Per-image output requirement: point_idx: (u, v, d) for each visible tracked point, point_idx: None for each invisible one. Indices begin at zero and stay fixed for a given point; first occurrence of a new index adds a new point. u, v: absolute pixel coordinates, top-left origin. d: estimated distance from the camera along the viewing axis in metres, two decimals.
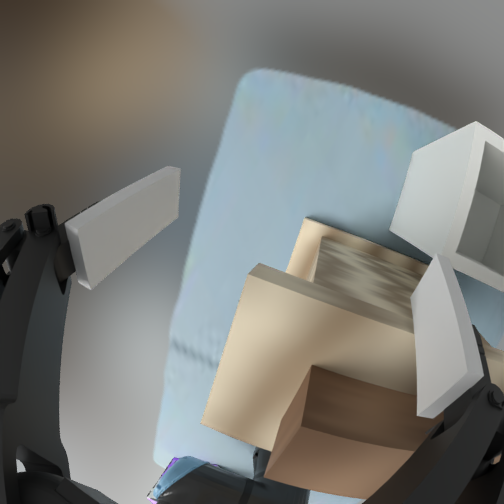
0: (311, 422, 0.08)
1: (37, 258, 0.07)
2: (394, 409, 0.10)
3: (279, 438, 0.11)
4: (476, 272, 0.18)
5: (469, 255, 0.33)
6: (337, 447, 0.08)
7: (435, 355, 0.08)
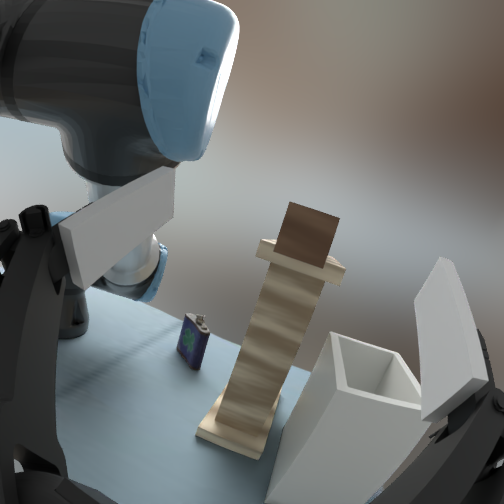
0: None
1: (31, 258, 0.07)
2: None
3: None
4: (334, 341, 0.37)
5: None
6: None
7: (439, 360, 0.08)
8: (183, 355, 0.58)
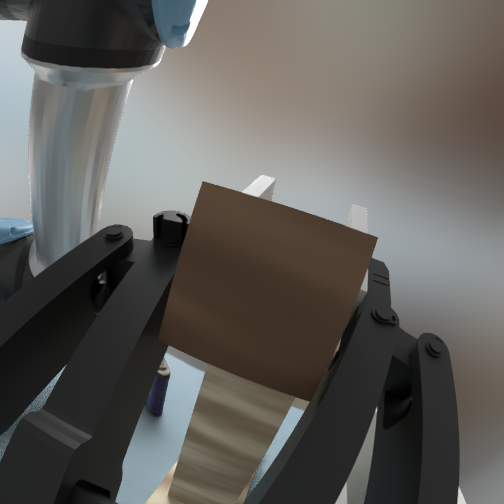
0: None
1: (158, 273, 0.07)
2: None
3: None
4: None
5: None
6: None
7: None
8: None
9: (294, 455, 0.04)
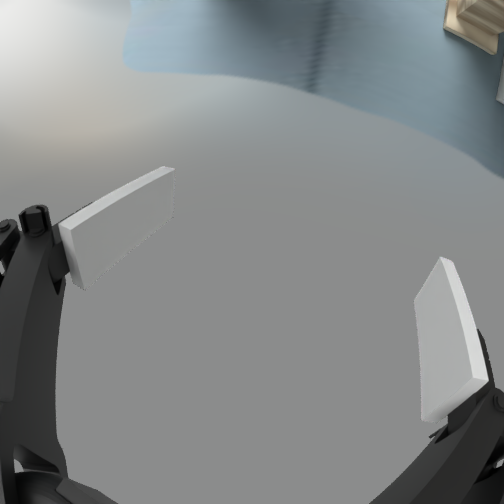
0: None
1: (31, 258, 0.07)
2: None
3: None
4: None
5: None
6: None
7: (439, 360, 0.08)
8: None
9: None
